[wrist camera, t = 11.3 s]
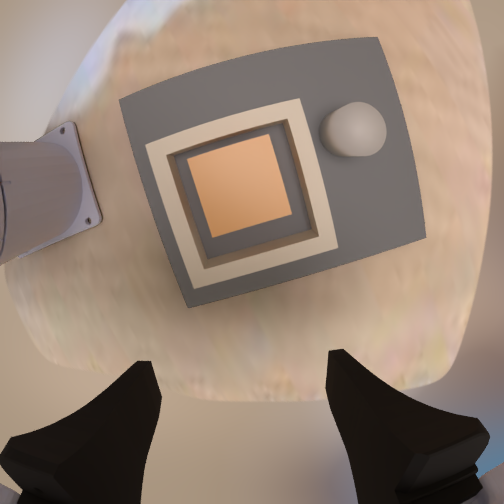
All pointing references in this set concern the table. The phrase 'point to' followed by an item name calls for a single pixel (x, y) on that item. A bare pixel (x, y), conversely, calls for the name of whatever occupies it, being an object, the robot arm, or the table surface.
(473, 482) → the robot arm
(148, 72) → the table surface
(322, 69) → the board
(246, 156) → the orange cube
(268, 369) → the table surface
